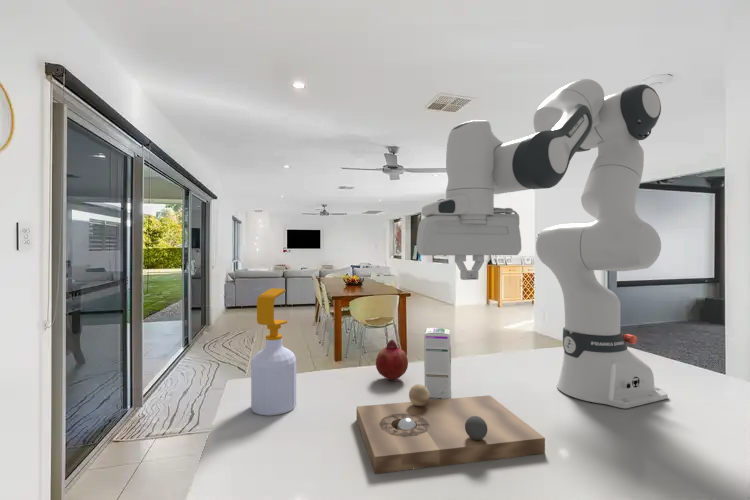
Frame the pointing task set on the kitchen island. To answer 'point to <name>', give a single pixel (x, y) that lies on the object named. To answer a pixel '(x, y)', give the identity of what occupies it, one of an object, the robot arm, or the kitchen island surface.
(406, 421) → the steel ball
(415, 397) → the beech ball
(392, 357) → the fruit
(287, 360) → the soap bottle
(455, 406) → the board
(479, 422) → the black rubber ball
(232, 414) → the kitchen island surface
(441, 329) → the syrup box
